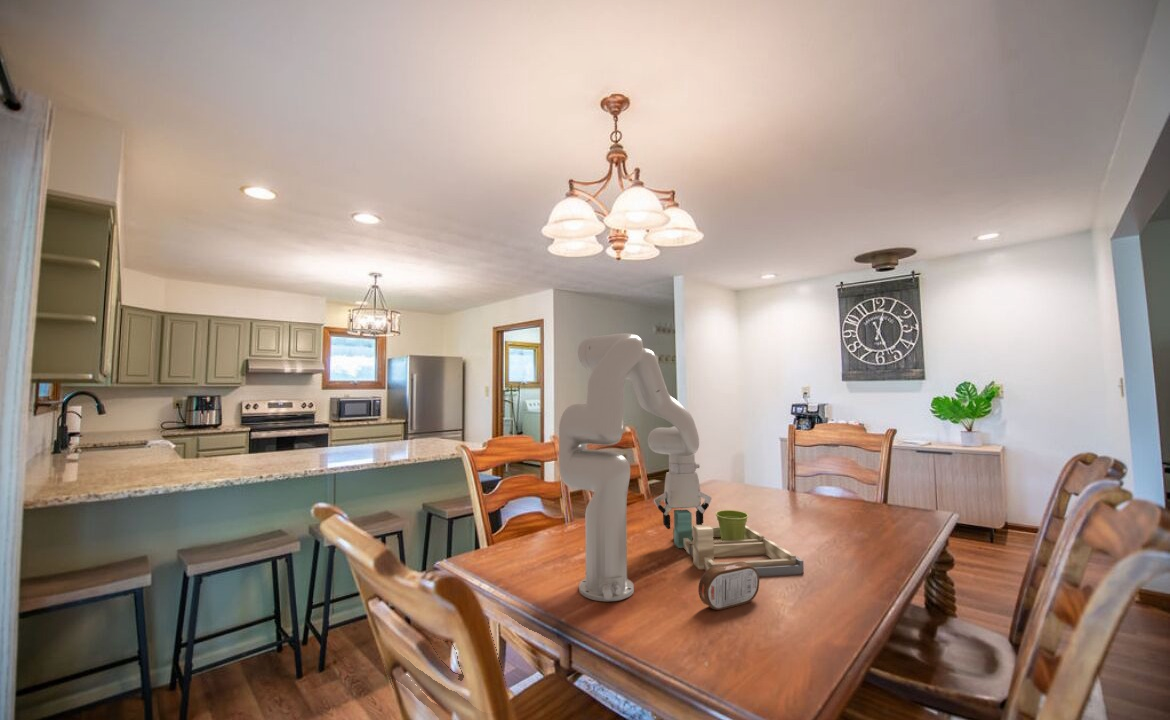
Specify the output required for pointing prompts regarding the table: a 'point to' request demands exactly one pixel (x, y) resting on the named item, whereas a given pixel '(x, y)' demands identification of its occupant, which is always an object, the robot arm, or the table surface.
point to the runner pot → (685, 530)
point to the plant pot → (732, 524)
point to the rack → (780, 569)
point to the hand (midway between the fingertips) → (683, 526)
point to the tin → (728, 585)
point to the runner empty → (735, 550)
